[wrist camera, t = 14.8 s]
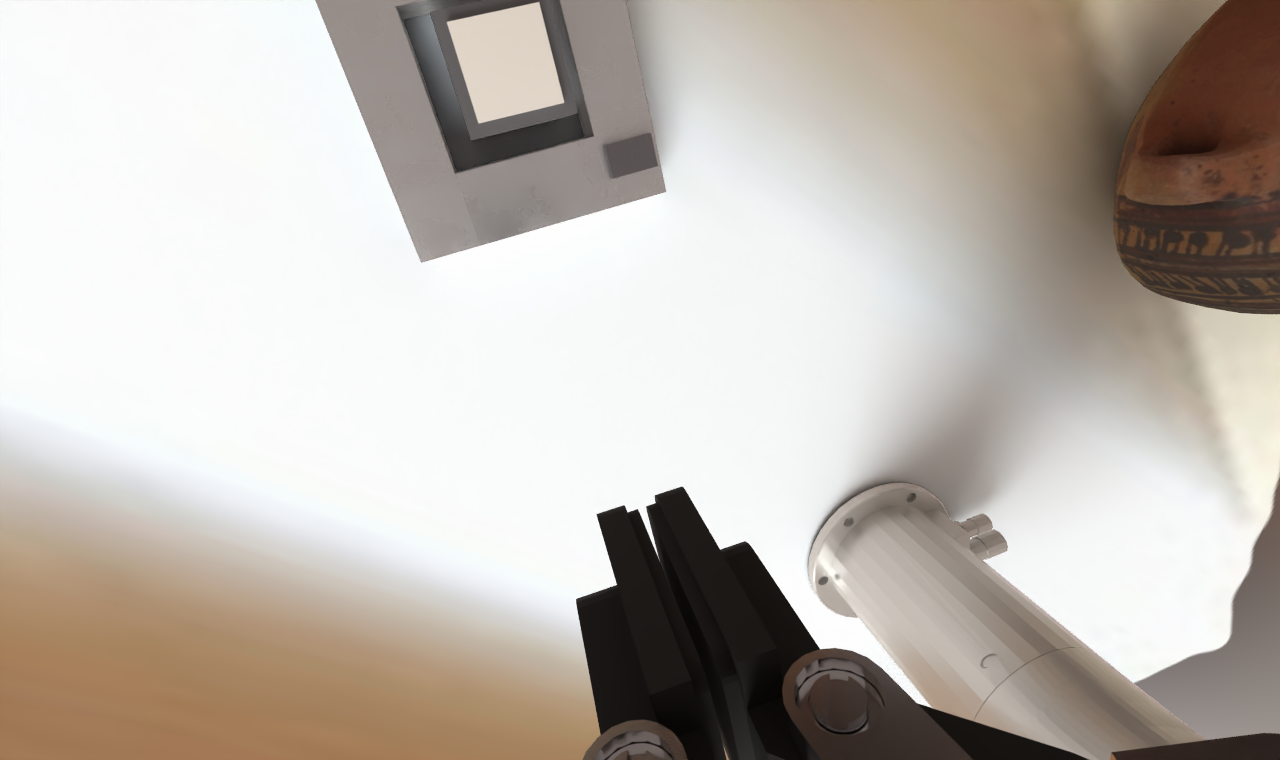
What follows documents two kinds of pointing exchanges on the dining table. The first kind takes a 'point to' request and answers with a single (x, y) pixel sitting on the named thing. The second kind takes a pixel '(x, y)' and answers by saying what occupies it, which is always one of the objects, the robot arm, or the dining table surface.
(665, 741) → the robot arm
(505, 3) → the plug
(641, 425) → the dining table surface
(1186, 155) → the vase
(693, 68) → the dining table surface
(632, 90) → the socket plate
